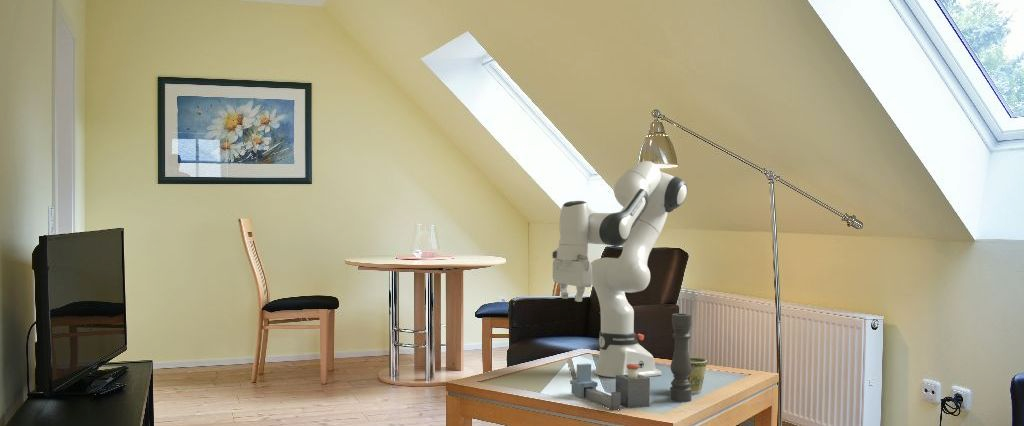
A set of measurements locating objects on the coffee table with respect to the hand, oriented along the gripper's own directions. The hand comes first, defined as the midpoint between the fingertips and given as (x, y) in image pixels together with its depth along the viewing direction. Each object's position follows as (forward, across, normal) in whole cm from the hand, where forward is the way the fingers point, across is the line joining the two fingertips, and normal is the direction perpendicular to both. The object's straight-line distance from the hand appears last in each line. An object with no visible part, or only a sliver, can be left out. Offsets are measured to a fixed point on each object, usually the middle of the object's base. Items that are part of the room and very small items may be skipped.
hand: (571, 300), depth 268 cm
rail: (+28, -14, -2) cm, 31 cm away
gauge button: (+22, -21, -10) cm, 32 cm away
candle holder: (+28, -19, -27) cm, 43 cm away
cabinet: (+28, -21, -10) cm, 36 cm away
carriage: (+28, -6, -2) cm, 29 cm away
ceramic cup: (+27, -10, -37) cm, 47 cm away
